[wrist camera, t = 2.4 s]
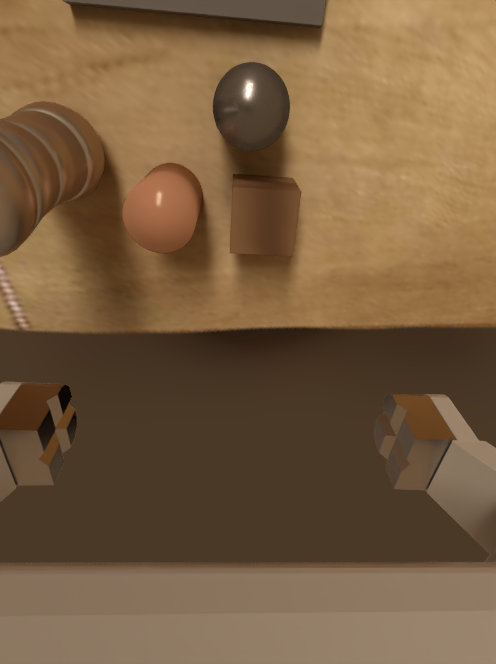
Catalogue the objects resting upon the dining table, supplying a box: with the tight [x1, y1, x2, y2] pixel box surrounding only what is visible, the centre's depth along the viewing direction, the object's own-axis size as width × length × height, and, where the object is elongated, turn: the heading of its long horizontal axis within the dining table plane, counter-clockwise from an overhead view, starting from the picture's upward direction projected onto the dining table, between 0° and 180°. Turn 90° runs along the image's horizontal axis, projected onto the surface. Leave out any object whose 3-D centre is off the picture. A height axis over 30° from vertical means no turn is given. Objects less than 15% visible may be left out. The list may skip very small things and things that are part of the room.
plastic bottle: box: [0, 101, 105, 257], centre depth 22 cm, size 6×7×20 cm
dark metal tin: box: [213, 62, 290, 151], centre depth 27 cm, size 5×5×5 cm
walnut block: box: [230, 174, 301, 257], centre depth 32 cm, size 5×5×5 cm
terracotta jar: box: [123, 163, 203, 253], centre depth 30 cm, size 5×5×7 cm
